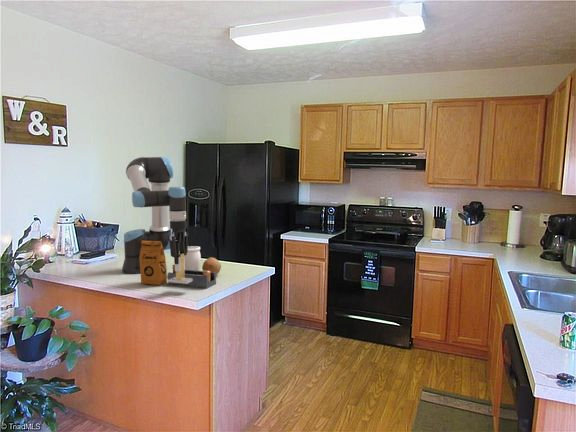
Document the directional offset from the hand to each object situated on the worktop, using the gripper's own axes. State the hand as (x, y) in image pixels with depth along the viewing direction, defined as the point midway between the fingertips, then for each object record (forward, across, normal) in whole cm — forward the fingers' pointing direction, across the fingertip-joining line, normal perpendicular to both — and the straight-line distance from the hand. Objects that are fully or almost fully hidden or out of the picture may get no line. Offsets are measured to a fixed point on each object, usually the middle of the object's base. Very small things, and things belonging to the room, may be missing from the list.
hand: (180, 269), depth 199 cm
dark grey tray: (+11, +13, +2) cm, 17 cm away
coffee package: (+11, +9, +21) cm, 25 cm away
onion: (+11, +31, +1) cm, 33 cm away
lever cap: (+6, 0, 0) cm, 6 cm away
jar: (+11, +30, +13) cm, 34 cm away
